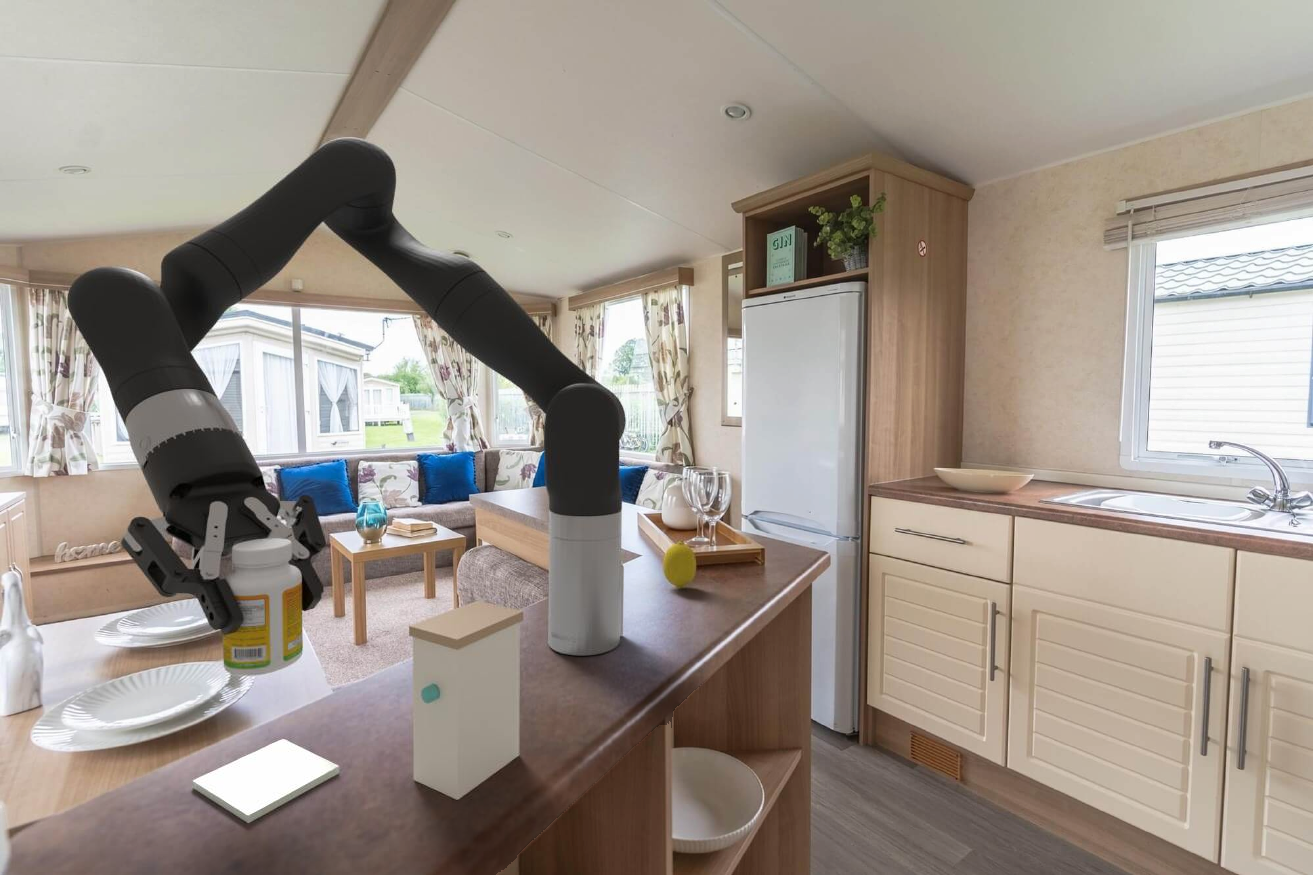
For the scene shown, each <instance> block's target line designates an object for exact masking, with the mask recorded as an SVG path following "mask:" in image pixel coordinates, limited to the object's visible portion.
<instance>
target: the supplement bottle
mask: <svg viewBox="0 0 1313 875" xmlns="http://www.w3.org/2000/svg"><path fill="white" fill-rule="evenodd" d="M291 558H292V543H291V541H290V540H288V539H281V538H271V537H270V538H269V537H268V538H267V539H257V540H250V541H246V542H242V543H238V544H236V545H234V546H233V547H232V554H231V562H232V565H233V567H235V569H234V570H232V571H230V572H229V573H227V574H226V575H225V577H224V578H223V579H225V578H226V580H227V582H228V584H229V586H230V589H231V591H232V593H233V595H234V597H235V599H236V601H237V603H238V605H239V607H240V609H241V611H242V613H243V617H244V620H243V623H242V624H241V626H240V627H239V629H238V630H237V632H235V633H231V634H228V635H223V634H222V645H223V646H222V653H223V654H222V655H223V656H222V658H223V668H224V670H225V671H226V672H227V673H229V674H231V675H235V676H241V677H242V676H244V677H248V676H249V677H250V676H251V677H252V676H260V675H266V674H271V673H275V672H277V671H280V670H282V669H285V668H287V667H289V666H291V665H293V664H294V663H296V662H297V661H299V659H301V657H302V655H303V643H304V642H303V610H302V575H301V572H300V570H299V569H298V568H297V567H295V566H293V565H290V564H289V563H288V561H289V560H291Z"/></svg>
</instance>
